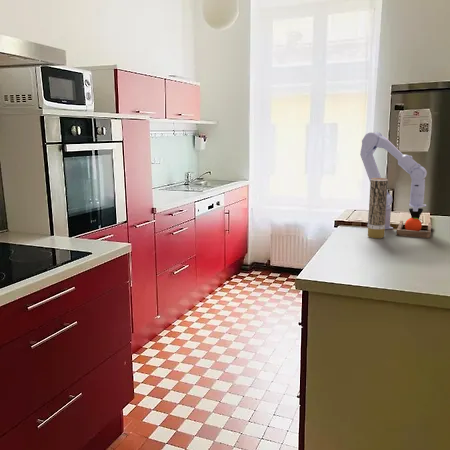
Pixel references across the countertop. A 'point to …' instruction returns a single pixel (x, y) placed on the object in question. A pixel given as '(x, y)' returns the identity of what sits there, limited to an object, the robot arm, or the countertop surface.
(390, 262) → the countertop surface
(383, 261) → the countertop surface
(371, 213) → the paper tube
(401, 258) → the countertop surface
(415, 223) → the clementine
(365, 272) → the countertop surface
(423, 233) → the holder
